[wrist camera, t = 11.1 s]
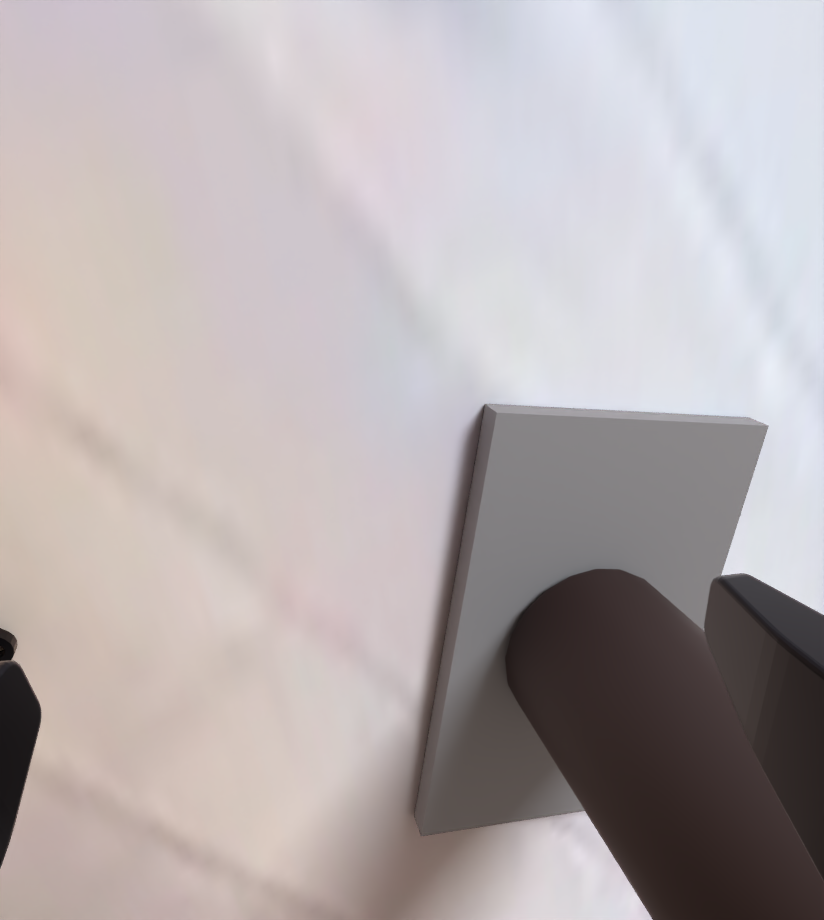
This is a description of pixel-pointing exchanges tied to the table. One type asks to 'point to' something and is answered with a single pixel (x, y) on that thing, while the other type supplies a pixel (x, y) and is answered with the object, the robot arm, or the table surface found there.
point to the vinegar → (658, 752)
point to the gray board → (566, 574)
